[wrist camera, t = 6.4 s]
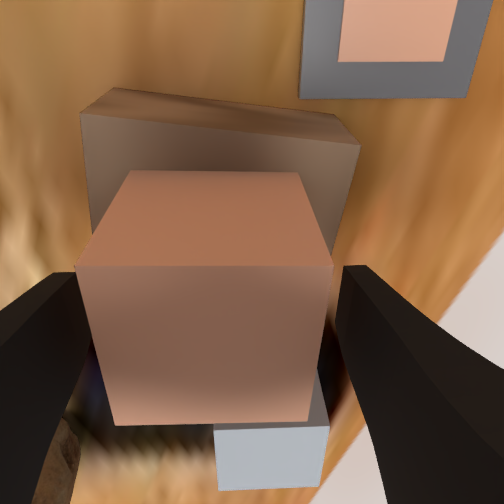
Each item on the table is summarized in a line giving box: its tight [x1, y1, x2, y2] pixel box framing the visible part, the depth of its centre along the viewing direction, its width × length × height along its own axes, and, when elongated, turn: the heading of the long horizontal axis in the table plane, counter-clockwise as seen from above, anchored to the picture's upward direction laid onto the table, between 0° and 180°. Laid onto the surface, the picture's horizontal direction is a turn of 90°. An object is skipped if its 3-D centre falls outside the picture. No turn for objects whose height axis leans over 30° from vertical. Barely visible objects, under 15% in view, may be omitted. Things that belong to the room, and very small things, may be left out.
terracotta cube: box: [74, 170, 334, 426], centre depth 11 cm, size 5×5×5 cm
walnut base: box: [80, 88, 362, 256], centre depth 15 cm, size 8×8×4 cm
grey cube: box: [214, 368, 330, 491], centre depth 20 cm, size 5×5×5 cm
